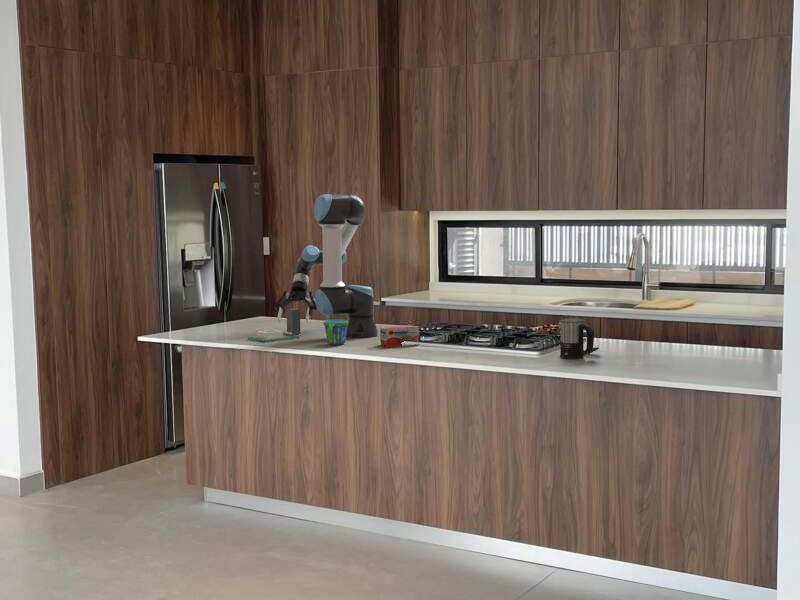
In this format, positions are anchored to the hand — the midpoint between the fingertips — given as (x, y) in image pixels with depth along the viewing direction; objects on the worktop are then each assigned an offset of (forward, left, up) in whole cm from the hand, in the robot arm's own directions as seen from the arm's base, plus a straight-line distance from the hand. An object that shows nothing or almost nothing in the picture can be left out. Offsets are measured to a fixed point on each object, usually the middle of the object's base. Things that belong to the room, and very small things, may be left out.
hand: (292, 320), depth 447 cm
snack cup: (-38, +5, -7) cm, 39 cm away
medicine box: (-60, -13, -7) cm, 62 cm away
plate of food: (-86, -89, -7) cm, 124 cm away
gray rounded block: (-1, +1, -7) cm, 7 cm away
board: (-5, +15, -7) cm, 17 cm away
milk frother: (-133, -42, -7) cm, 140 cm away
